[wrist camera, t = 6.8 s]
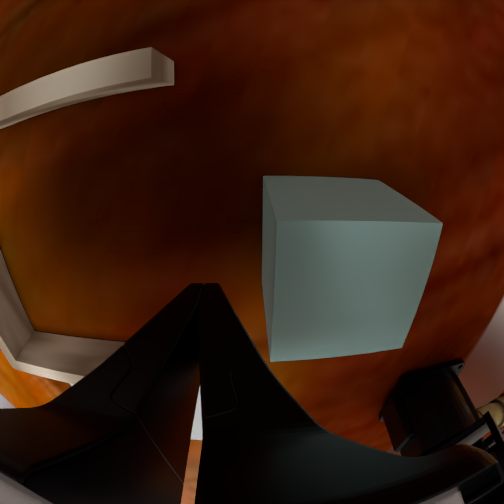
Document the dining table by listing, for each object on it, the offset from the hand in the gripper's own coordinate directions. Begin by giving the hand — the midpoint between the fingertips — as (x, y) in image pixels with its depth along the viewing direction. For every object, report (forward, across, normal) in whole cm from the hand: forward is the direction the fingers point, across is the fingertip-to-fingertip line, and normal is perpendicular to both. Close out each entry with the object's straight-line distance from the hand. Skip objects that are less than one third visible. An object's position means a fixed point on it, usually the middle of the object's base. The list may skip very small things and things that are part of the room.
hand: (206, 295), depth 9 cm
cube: (+4, -4, 0) cm, 6 cm away
